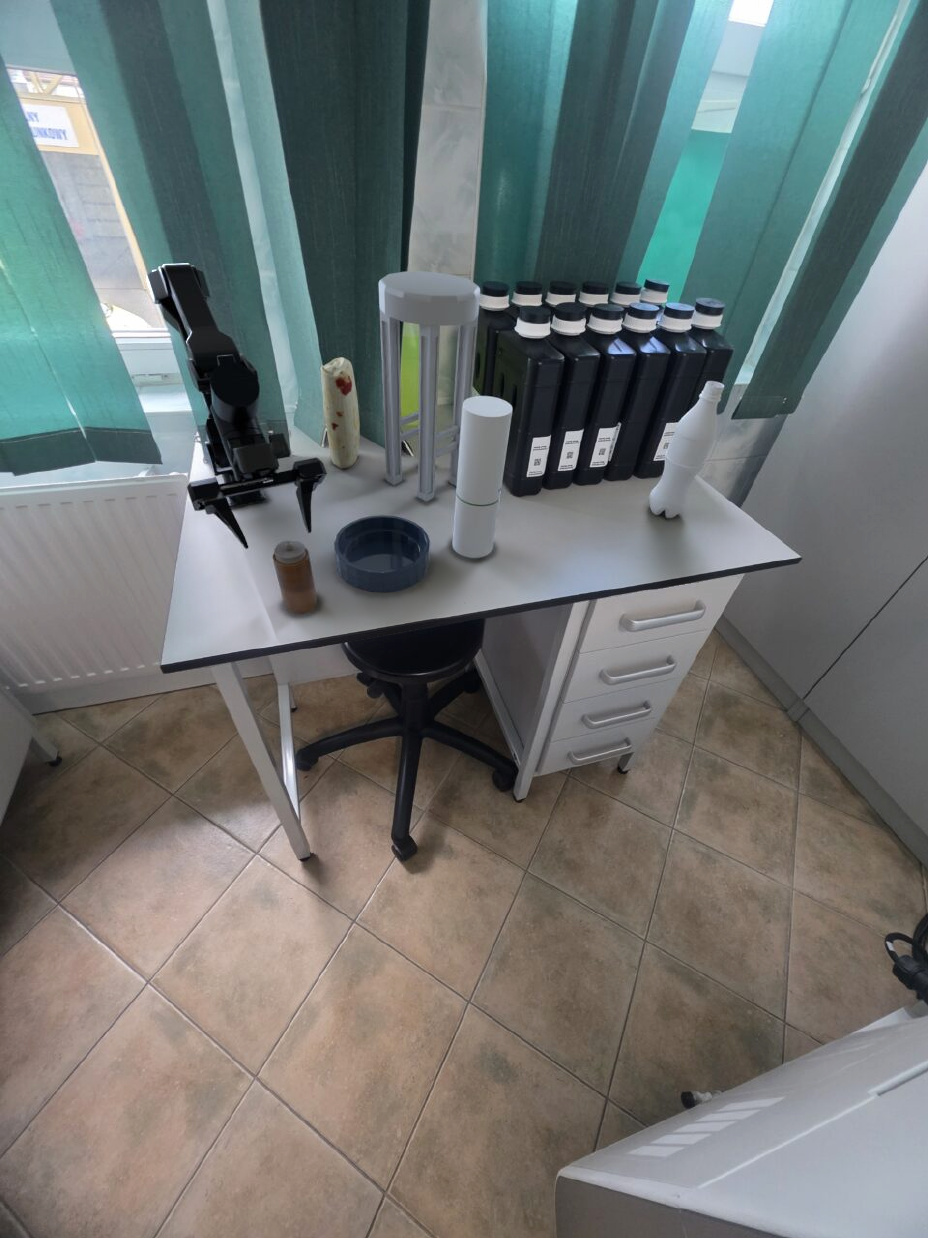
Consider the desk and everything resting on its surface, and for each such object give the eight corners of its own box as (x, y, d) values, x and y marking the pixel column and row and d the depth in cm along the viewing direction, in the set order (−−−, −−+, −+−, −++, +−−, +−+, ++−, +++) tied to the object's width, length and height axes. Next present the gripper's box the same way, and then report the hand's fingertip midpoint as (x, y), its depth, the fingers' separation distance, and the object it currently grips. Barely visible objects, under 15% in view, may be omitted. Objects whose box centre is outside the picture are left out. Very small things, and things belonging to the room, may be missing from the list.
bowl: (324, 549, 86) (321, 527, 83) (406, 528, 92) (406, 507, 89) (356, 605, 77) (354, 583, 74) (444, 578, 83) (446, 557, 80)
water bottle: (643, 514, 101) (692, 386, 84) (647, 497, 106) (695, 373, 88) (679, 524, 100) (737, 396, 82) (682, 507, 105) (737, 382, 87)
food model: (359, 473, 104) (350, 371, 90) (326, 471, 104) (312, 369, 90) (364, 450, 111) (357, 353, 97) (333, 449, 111) (322, 350, 97)
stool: (478, 483, 105) (499, 286, 80) (426, 511, 96) (431, 300, 72) (425, 456, 112) (429, 266, 87) (371, 480, 103) (359, 276, 78)
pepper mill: (288, 593, 78) (274, 531, 70) (320, 594, 78) (309, 532, 70) (281, 615, 75) (265, 552, 66) (314, 616, 75) (302, 554, 67)
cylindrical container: (497, 541, 91) (518, 402, 74) (485, 564, 86) (504, 420, 69) (460, 531, 93) (471, 392, 75) (446, 553, 88) (455, 410, 70)
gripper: (164, 425, 62) (210, 547, 64) (313, 403, 70) (350, 512, 71) (174, 455, 72) (213, 560, 74) (303, 433, 80) (336, 528, 81)
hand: (279, 540), depth 75 cm, fingers open, 9 cm apart
